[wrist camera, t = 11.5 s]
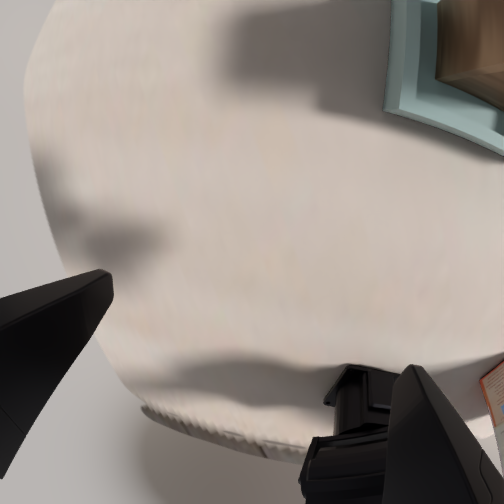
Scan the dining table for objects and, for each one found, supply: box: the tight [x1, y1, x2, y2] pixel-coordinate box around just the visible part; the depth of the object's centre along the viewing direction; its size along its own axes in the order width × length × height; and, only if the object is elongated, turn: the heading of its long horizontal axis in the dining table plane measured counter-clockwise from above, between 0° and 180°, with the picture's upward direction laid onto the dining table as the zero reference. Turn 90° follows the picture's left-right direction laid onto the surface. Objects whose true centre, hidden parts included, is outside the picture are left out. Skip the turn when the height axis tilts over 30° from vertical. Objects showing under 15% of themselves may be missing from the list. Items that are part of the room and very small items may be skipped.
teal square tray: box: [382, 0, 504, 157], centre depth 10 cm, size 12×12×4 cm
